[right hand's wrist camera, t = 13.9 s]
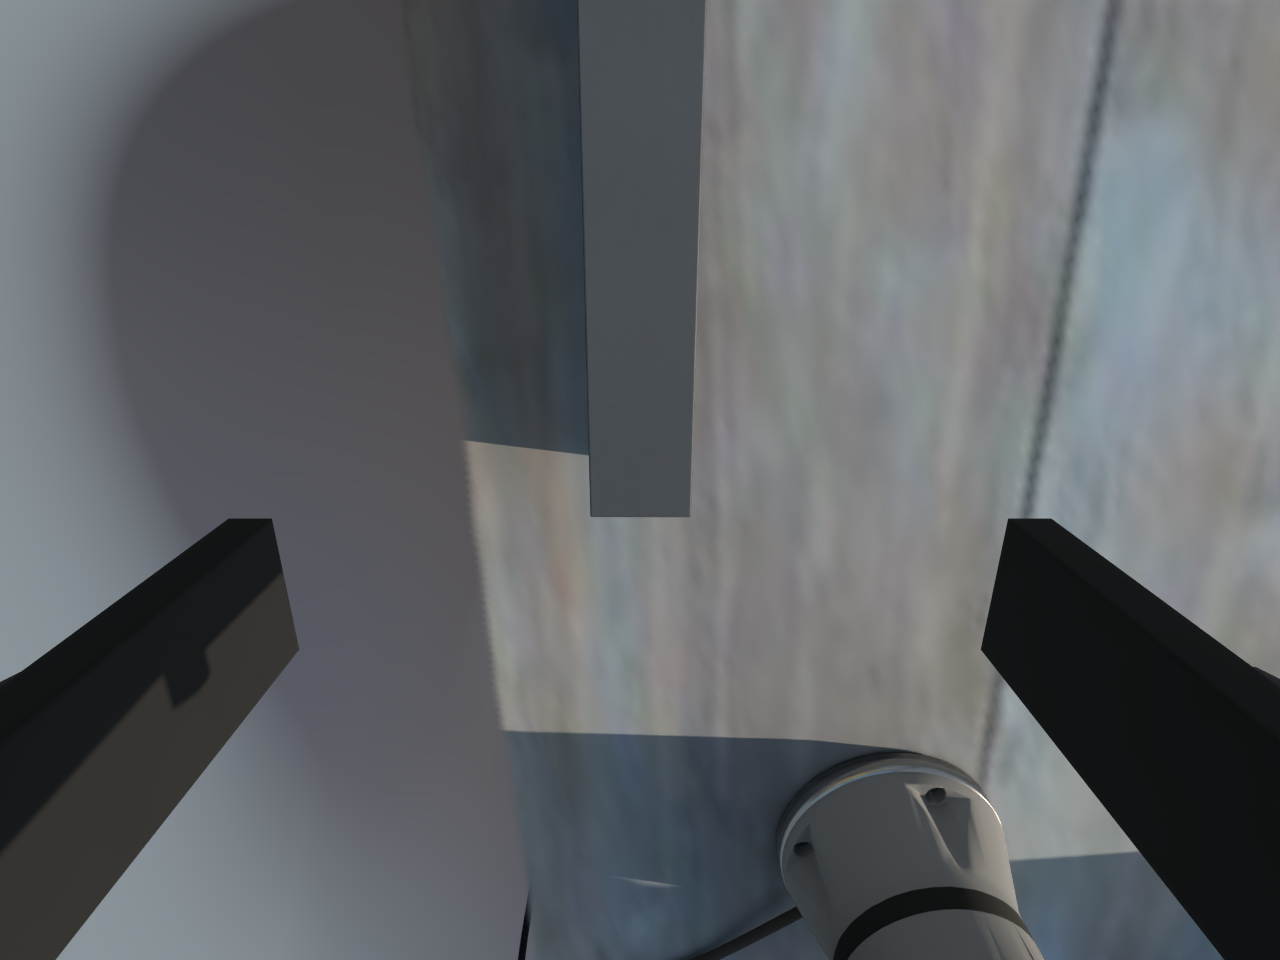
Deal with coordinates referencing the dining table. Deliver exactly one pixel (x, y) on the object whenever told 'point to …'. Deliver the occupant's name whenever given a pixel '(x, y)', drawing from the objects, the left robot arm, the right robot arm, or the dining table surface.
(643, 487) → the post
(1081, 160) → the dining table surface
